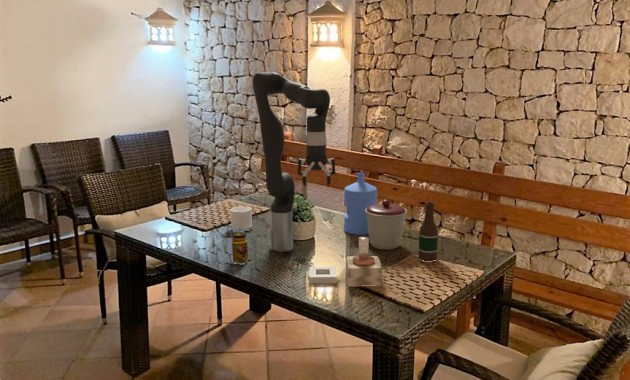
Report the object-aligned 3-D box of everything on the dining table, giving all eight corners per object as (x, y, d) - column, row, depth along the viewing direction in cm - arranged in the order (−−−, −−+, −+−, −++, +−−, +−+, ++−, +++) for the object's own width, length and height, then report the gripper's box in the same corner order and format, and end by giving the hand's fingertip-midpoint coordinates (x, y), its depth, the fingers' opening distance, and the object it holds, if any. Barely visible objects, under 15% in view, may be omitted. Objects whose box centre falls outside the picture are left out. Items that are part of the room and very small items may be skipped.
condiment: (244, 266, 213) (243, 237, 210) (225, 263, 215) (223, 235, 212) (251, 259, 219) (250, 231, 217) (233, 257, 222) (231, 230, 219)
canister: (371, 237, 245) (372, 193, 241) (410, 242, 239) (411, 196, 234) (359, 250, 229) (359, 202, 224) (400, 255, 222) (401, 206, 218)
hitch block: (348, 286, 192) (348, 268, 190) (346, 273, 204) (346, 256, 202) (381, 286, 192) (381, 267, 190) (377, 273, 204) (377, 256, 202)
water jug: (382, 228, 259) (383, 172, 252) (367, 237, 246) (368, 178, 239) (353, 223, 267) (354, 169, 260) (338, 232, 254) (338, 174, 247)
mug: (243, 233, 253) (243, 213, 250) (227, 230, 258) (226, 210, 255) (259, 226, 263) (258, 206, 261) (243, 224, 268) (242, 204, 266)
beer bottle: (433, 264, 212) (435, 206, 207) (414, 260, 216) (416, 203, 211) (439, 258, 219) (442, 201, 213) (421, 255, 223) (424, 199, 217)
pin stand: (309, 283, 195) (309, 277, 194) (309, 273, 205) (309, 266, 204) (336, 283, 195) (336, 276, 194) (335, 272, 205) (335, 266, 204)
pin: (353, 281, 194) (353, 242, 190) (351, 273, 202) (351, 234, 198) (375, 281, 194) (375, 241, 190) (372, 273, 202) (373, 234, 198)
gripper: (334, 141, 203) (334, 183, 207) (297, 142, 203) (298, 183, 207) (335, 144, 195) (335, 187, 199) (296, 144, 195) (297, 188, 199)
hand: (316, 185), depth 203 cm, fingers open, 8 cm apart
